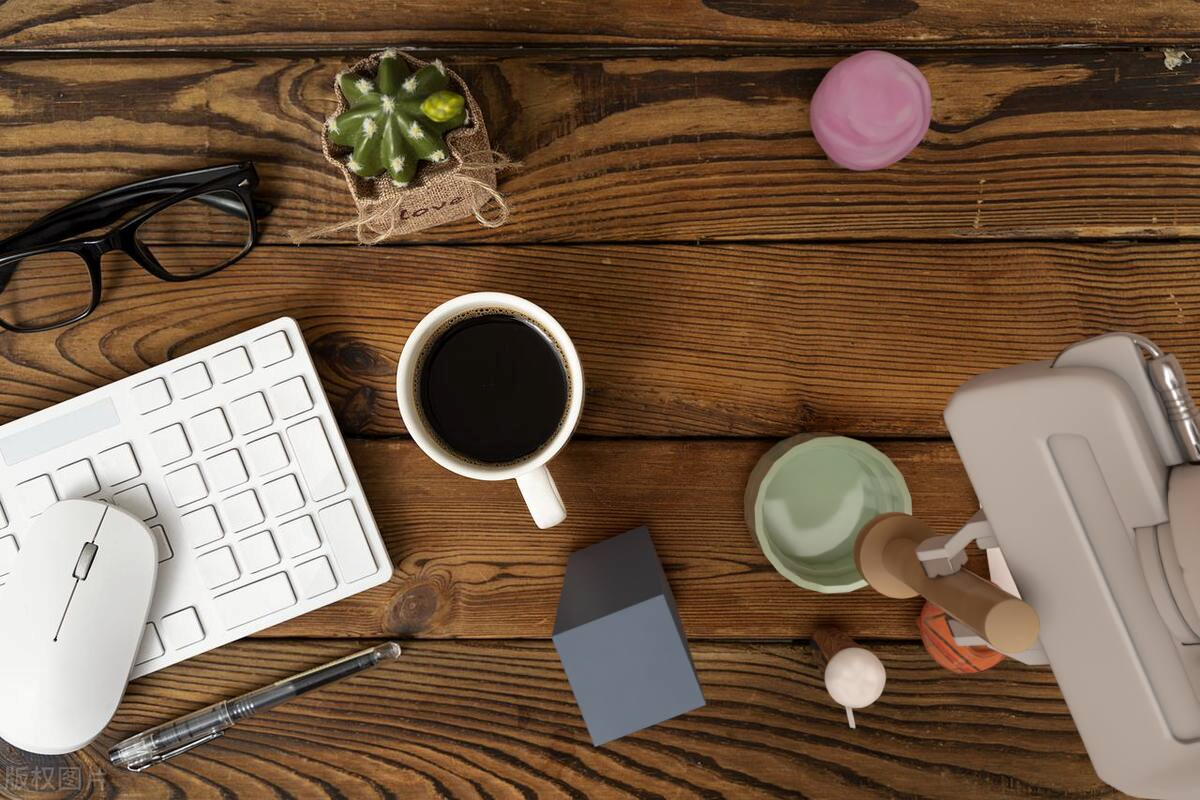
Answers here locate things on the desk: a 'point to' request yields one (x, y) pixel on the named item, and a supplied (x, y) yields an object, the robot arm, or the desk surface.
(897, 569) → the wooden pestle
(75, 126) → the desk surface
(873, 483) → the bowl
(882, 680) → the milkshake
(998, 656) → the pot
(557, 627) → the stand
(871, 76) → the cupcake
